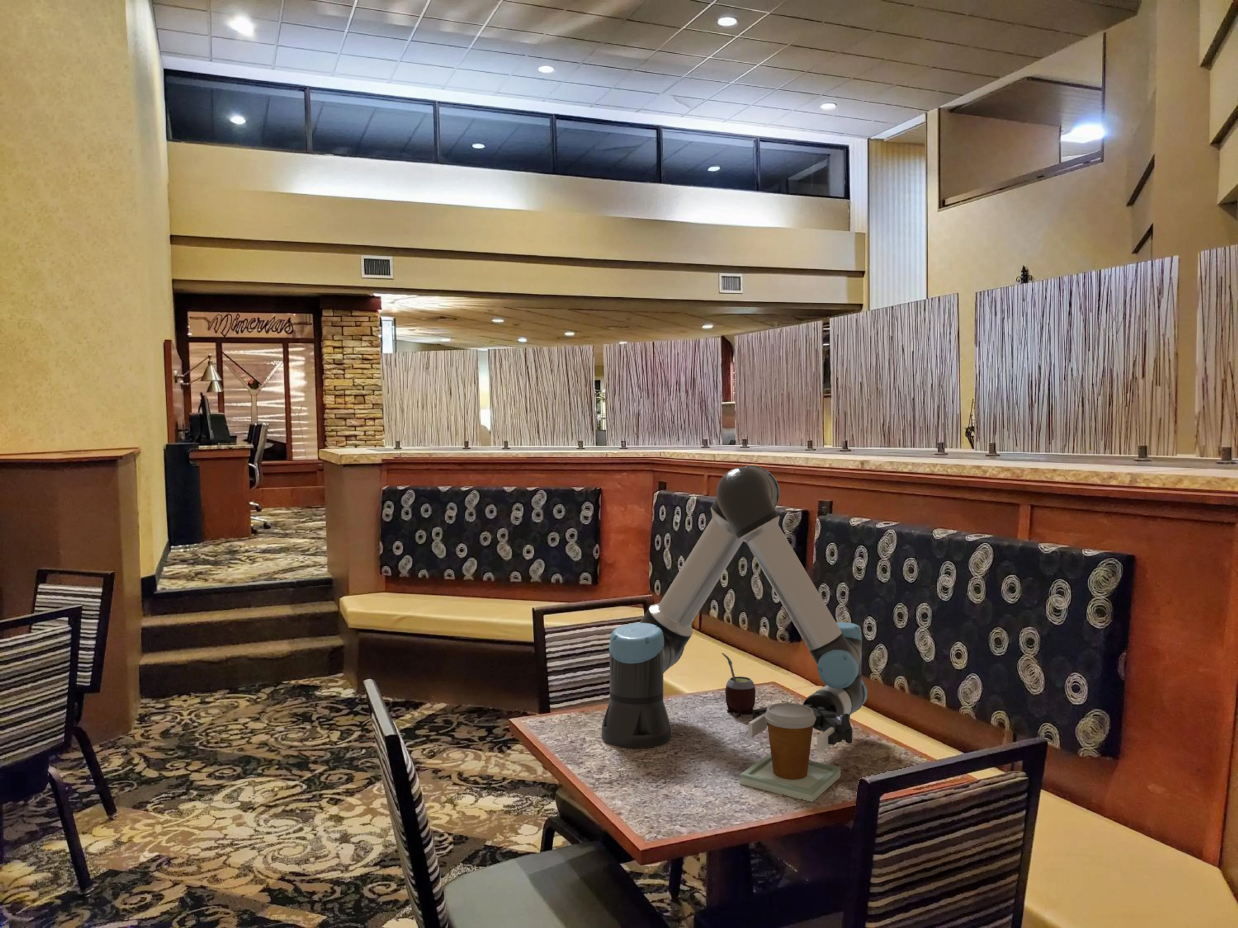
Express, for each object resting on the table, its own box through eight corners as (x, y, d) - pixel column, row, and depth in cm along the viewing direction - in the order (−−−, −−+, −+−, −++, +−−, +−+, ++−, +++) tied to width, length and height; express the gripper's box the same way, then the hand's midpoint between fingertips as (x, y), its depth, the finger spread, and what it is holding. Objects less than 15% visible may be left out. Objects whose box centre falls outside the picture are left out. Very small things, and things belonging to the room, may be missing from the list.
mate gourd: (756, 709, 197) (756, 647, 197) (754, 719, 189) (754, 654, 189) (725, 707, 198) (725, 645, 198) (721, 717, 191) (721, 653, 191)
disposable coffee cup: (816, 785, 149) (816, 719, 149) (763, 780, 151) (763, 715, 151) (815, 765, 158) (815, 703, 158) (765, 761, 160) (765, 700, 160)
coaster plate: (740, 783, 153) (740, 773, 153) (772, 760, 164) (772, 751, 164) (811, 802, 144) (812, 791, 144) (840, 776, 156) (840, 767, 156)
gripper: (887, 738, 162) (849, 772, 144) (770, 714, 176) (723, 743, 159) (887, 700, 162) (850, 730, 144) (770, 680, 176) (723, 704, 159)
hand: (783, 737), depth 151 cm, fingers open, 13 cm apart
